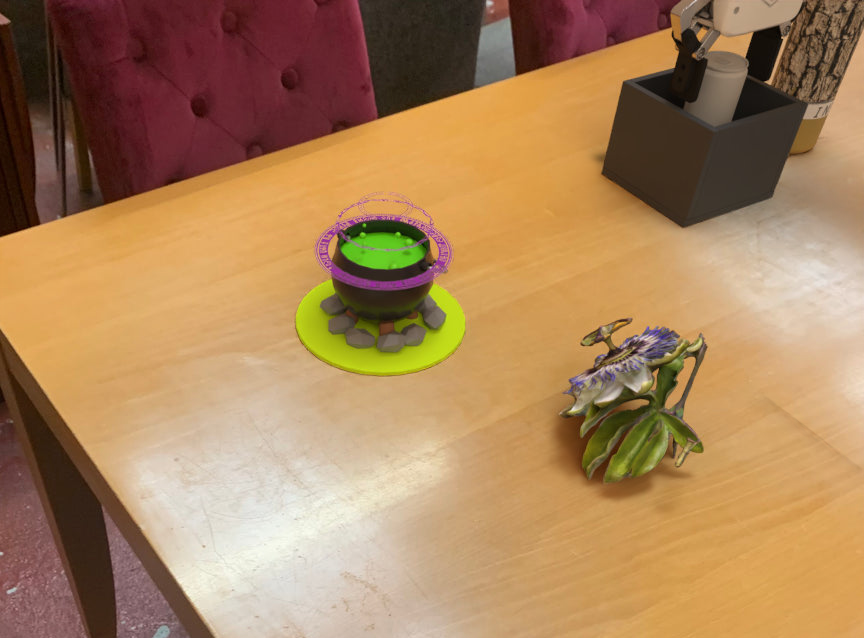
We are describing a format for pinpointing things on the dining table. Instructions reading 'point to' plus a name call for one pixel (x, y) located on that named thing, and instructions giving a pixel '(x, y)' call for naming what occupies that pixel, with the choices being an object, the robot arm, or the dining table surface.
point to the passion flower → (632, 380)
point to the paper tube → (818, 60)
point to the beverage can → (719, 88)
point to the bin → (699, 148)
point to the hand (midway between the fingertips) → (719, 86)
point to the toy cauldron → (381, 299)
